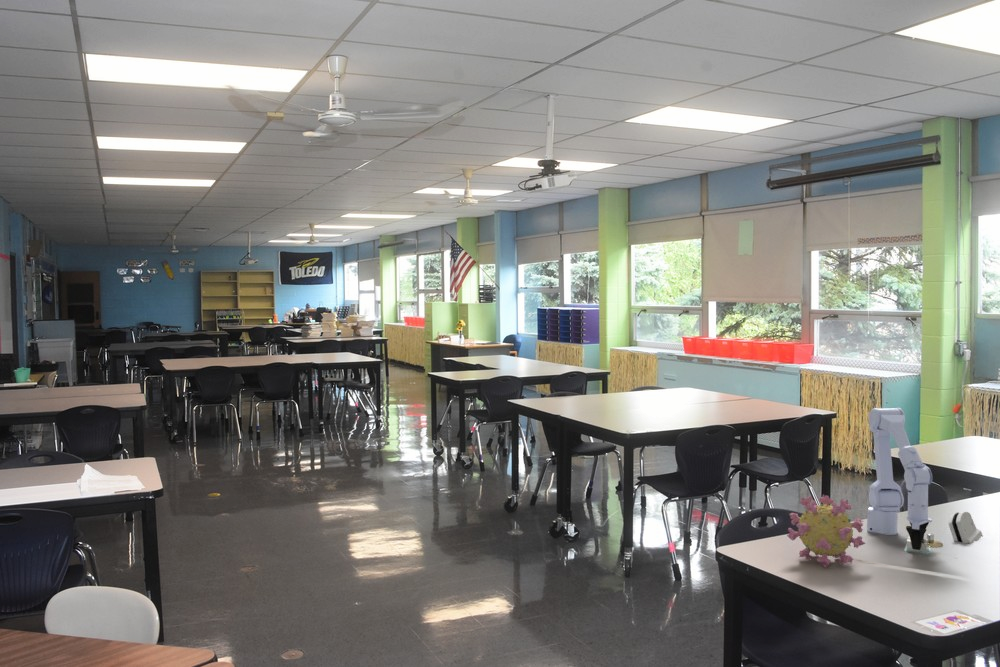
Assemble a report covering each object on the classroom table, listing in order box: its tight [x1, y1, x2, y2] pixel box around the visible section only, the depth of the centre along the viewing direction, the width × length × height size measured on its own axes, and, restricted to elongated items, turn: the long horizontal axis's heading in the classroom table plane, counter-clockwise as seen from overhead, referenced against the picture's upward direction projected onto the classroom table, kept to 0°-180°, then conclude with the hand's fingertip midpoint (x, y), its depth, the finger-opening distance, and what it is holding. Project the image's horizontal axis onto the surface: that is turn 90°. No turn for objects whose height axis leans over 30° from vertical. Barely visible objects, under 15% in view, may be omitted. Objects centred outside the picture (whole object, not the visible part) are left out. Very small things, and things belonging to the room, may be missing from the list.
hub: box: [926, 533, 943, 548], centre depth 252 cm, size 7×7×4 cm
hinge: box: [948, 511, 984, 545], centre depth 259 cm, size 17×5×10 cm, turn 137°
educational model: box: [786, 494, 866, 569], centre depth 237 cm, size 23×22×20 cm
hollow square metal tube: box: [906, 536, 929, 554], centre depth 246 cm, size 6×6×3 cm
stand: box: [903, 544, 932, 555], centre depth 246 cm, size 7×7×4 cm
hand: (917, 546), depth 246 cm, fingers open, 7 cm apart
